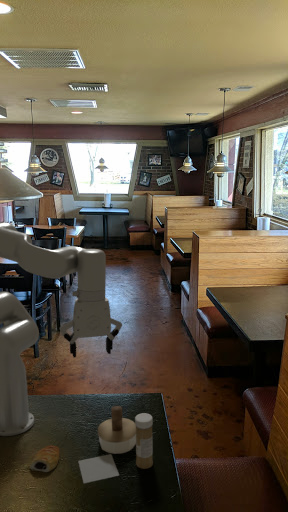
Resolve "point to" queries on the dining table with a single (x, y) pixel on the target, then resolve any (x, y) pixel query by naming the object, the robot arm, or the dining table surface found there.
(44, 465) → the pastry
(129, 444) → the bowl
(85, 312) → the robot arm
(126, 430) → the lid
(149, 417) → the sprinkles bottle
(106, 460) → the mat
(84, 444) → the dining table surface
